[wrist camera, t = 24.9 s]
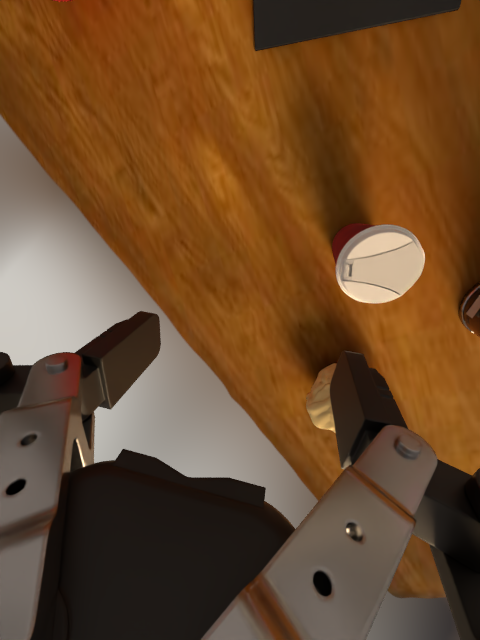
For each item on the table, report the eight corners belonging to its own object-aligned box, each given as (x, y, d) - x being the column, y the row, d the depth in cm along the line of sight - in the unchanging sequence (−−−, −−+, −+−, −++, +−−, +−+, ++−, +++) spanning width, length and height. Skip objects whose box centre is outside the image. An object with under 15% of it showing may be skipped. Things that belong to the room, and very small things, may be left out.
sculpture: (348, 340, 42) (363, 382, 33) (392, 385, 44) (418, 437, 35) (296, 374, 47) (295, 419, 38) (337, 413, 49) (347, 465, 40)
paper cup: (322, 271, 38) (334, 307, 26) (326, 216, 35) (341, 228, 23) (378, 270, 37) (419, 308, 24) (388, 212, 33) (441, 223, 21)
